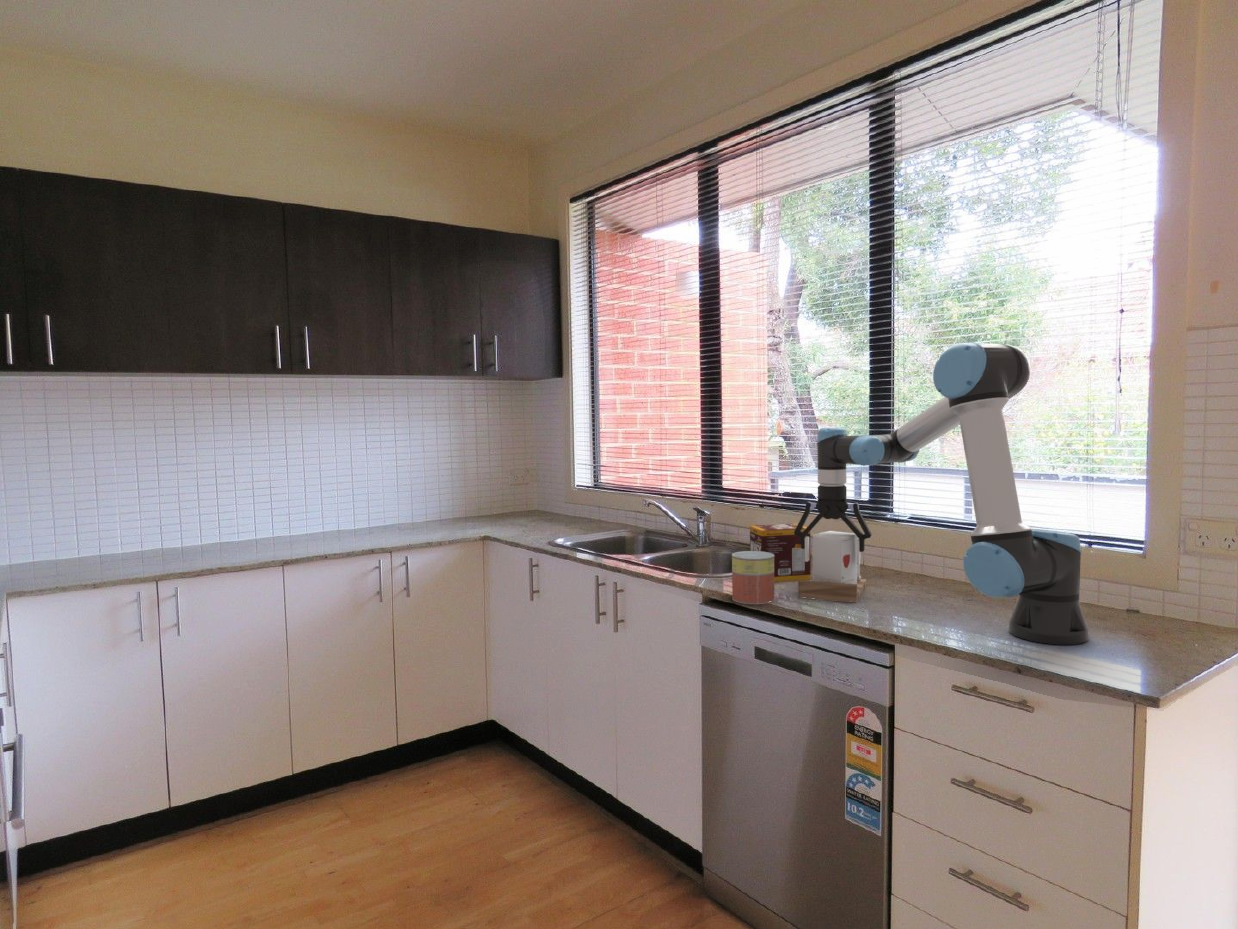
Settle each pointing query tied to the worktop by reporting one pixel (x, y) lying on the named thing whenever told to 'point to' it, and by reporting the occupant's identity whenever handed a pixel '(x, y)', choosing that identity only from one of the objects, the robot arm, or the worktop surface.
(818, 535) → the supplement box
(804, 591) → the shelf board
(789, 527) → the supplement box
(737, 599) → the canned food
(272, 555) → the worktop surface
